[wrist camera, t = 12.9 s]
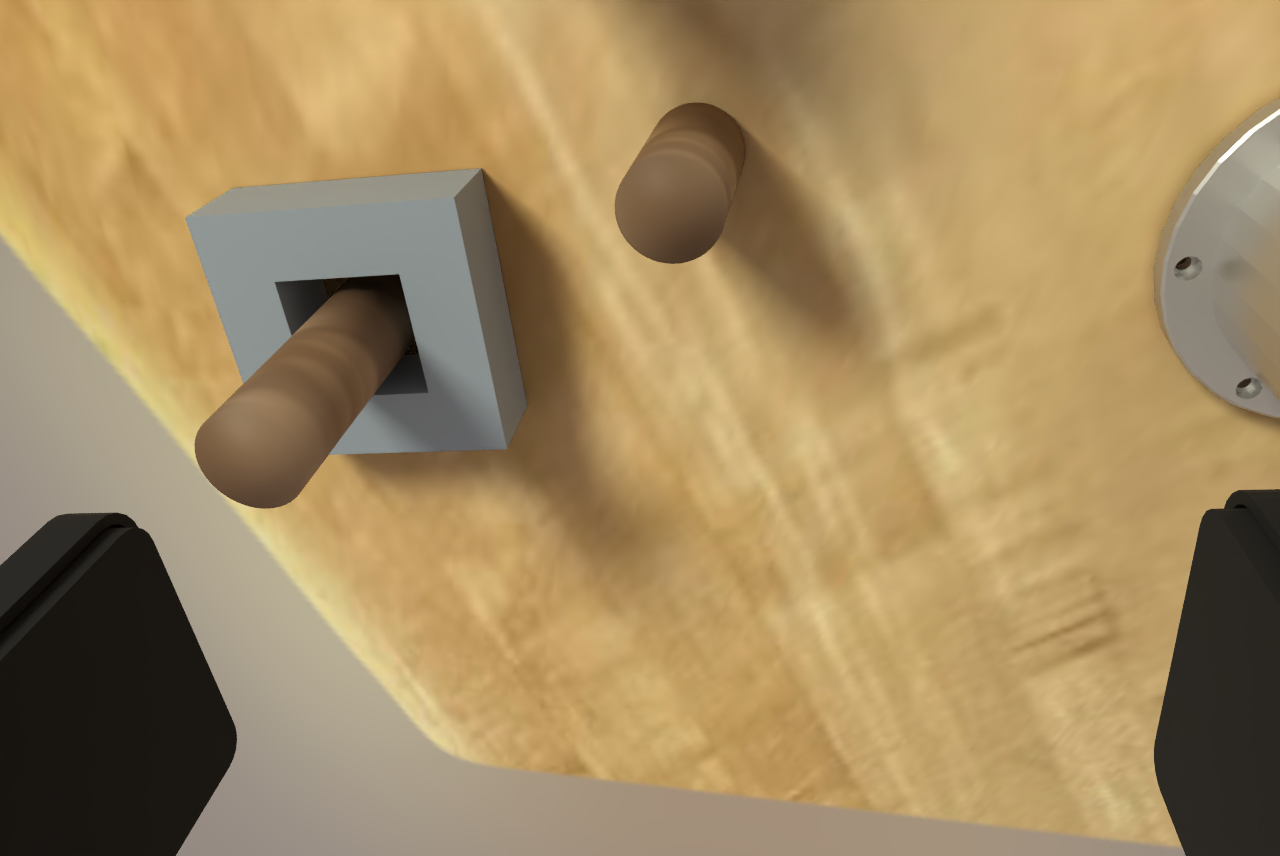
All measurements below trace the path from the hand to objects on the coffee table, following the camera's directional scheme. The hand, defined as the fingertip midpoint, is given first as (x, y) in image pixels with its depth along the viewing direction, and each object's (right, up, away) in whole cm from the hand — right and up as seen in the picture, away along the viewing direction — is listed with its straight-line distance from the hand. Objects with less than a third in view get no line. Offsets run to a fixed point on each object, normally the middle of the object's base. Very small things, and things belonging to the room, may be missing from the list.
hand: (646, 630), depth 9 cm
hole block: (-10, +7, +31) cm, 33 cm away
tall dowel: (-10, +7, +31) cm, 33 cm away
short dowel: (+2, +12, +26) cm, 28 cm away
